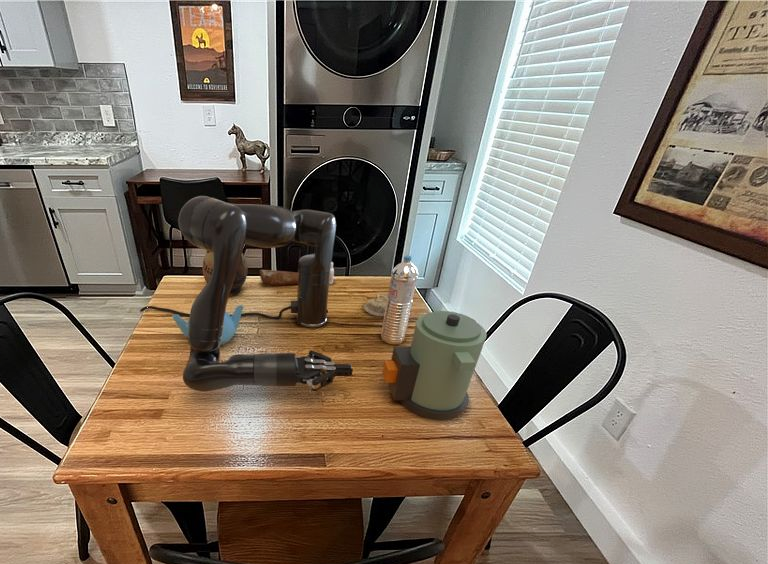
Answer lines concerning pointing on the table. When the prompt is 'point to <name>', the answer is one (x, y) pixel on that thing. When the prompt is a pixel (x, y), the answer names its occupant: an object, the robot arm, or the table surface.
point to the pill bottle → (331, 273)
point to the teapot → (228, 325)
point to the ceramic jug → (239, 276)
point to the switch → (390, 371)
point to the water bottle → (399, 302)
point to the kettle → (438, 365)
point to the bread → (278, 277)
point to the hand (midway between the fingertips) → (351, 370)
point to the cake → (376, 305)
